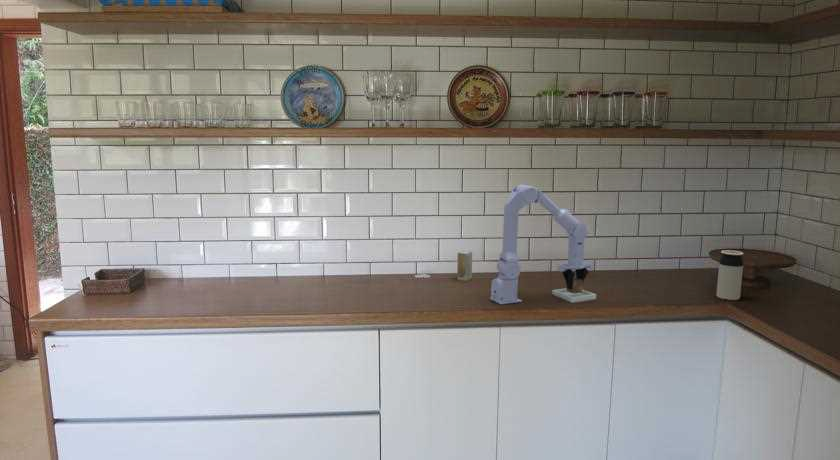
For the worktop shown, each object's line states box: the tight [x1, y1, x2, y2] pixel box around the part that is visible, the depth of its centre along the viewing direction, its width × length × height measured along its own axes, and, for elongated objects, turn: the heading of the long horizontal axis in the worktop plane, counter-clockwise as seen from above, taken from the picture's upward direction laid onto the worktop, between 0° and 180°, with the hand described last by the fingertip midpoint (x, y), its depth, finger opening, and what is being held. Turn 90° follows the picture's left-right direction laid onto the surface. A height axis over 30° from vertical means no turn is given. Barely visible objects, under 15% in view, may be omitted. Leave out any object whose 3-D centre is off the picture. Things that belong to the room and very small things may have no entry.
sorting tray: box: [551, 287, 597, 304], centre depth 213 cm, size 12×12×2 cm
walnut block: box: [566, 277, 583, 294], centre depth 212 cm, size 4×4×5 cm
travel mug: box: [716, 249, 744, 301], centre depth 212 cm, size 8×8×18 cm
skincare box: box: [456, 250, 473, 282], centre depth 239 cm, size 6×4×12 cm
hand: (574, 288), depth 212 cm, fingers closed on walnut block, 4 cm apart
